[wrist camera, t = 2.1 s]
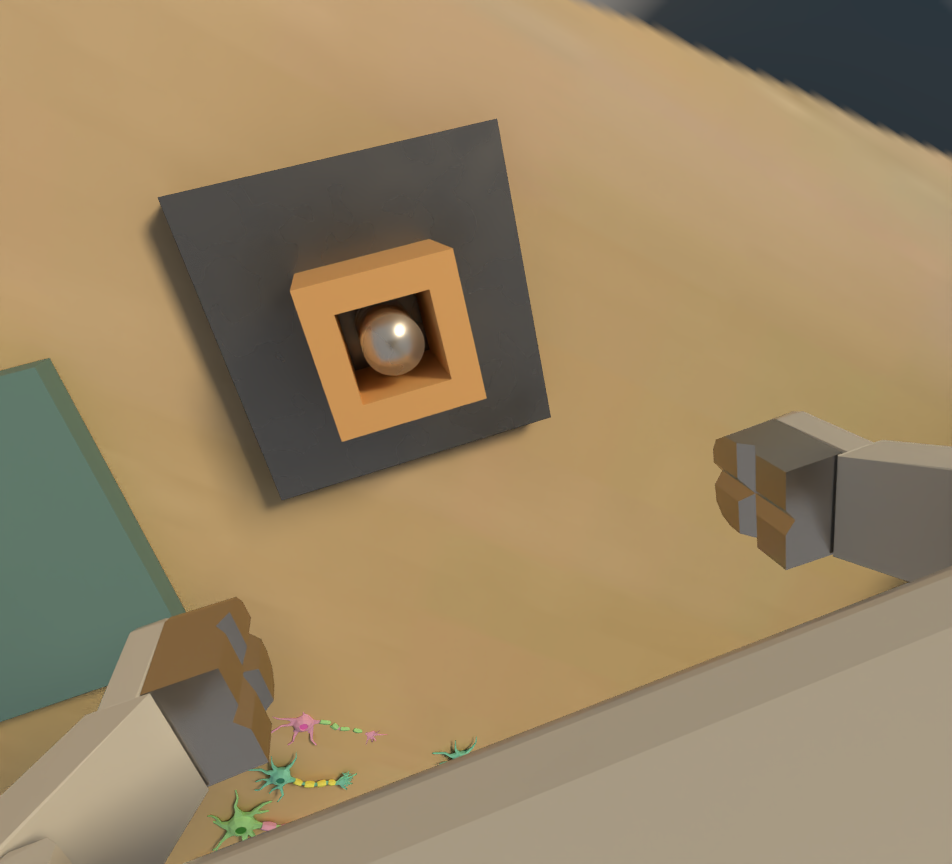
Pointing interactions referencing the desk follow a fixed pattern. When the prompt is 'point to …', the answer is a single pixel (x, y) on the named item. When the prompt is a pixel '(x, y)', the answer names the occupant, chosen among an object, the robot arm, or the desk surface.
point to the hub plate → (64, 551)
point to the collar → (445, 322)
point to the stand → (372, 327)
